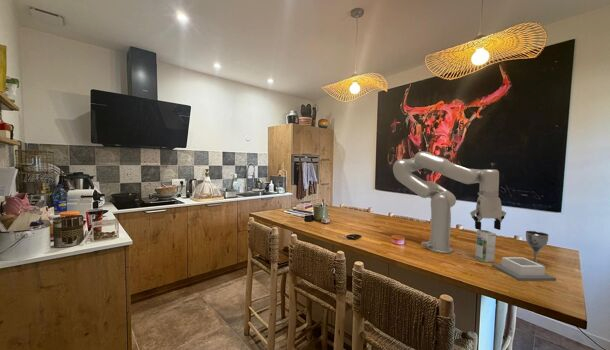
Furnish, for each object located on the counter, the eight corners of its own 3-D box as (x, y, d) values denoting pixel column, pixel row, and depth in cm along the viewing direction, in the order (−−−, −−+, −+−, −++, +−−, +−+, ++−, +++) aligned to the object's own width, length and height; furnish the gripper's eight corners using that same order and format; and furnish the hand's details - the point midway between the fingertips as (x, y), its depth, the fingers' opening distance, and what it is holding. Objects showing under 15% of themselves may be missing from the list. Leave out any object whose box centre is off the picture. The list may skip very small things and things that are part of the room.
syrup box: (474, 258, 125) (476, 229, 125) (485, 257, 126) (487, 229, 125) (483, 262, 120) (485, 233, 119) (494, 262, 120) (496, 233, 119)
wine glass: (548, 268, 114) (550, 236, 113) (525, 264, 118) (528, 233, 118) (543, 262, 121) (545, 232, 120) (522, 259, 125) (524, 229, 124)
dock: (518, 280, 102) (519, 268, 101) (491, 266, 116) (492, 255, 115) (555, 280, 102) (556, 268, 102) (524, 266, 116) (525, 255, 116)
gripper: (477, 195, 117) (476, 231, 117) (512, 195, 117) (511, 231, 118) (466, 193, 124) (465, 227, 125) (499, 193, 125) (498, 227, 126)
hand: (487, 229), depth 122 cm, fingers open, 9 cm apart
